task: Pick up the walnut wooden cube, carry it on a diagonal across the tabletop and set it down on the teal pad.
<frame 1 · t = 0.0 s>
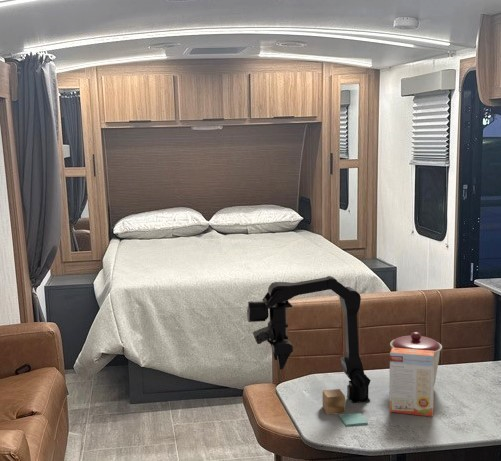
hand: (278, 364, 213), 15 cm above the table, tool pointing down, fingers open, 9 cm apart
cracker box: (411, 411, 209), on the table
walnut cube: (333, 410, 211), on the table
canister: (415, 388, 228), on the table
teal pad: (353, 420, 203), on the table
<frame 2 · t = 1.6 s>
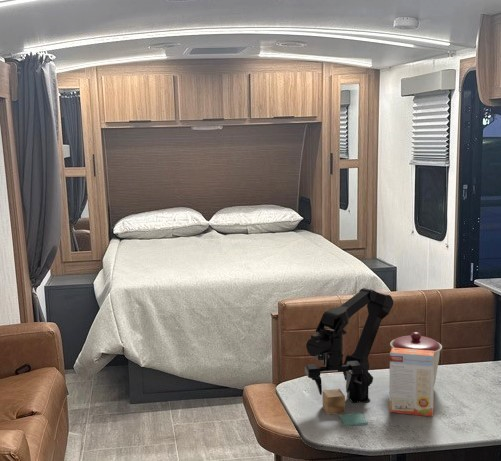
hand: (333, 393, 210), 6 cm above the table, tool pointing down, fingers open, 9 cm apart
nothing on the table moved.
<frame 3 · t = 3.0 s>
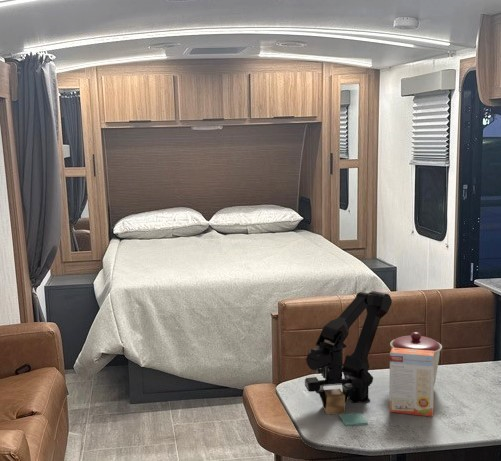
hand: (333, 406, 211), 1 cm above the table, tool pointing down, fingers closed on walnut cube, 6 cm apart
walnut cube: (333, 409, 211), on the table, touching gripper
everything else where it was.
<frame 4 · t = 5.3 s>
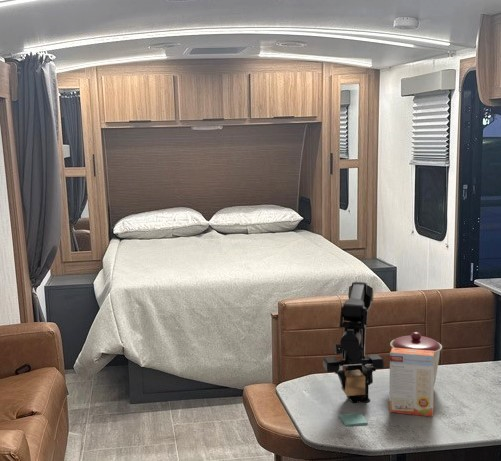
hand: (353, 388, 201), 11 cm above the table, tool pointing down, fingers closed on walnut cube, 6 cm apart
walnut cube: (353, 391, 201), point 10 cm above the table, touching gripper
everything else where it was.
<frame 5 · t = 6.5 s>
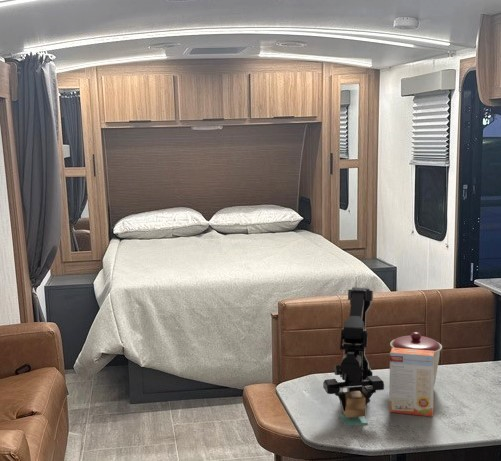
hand: (353, 409, 202), 4 cm above the table, tool pointing down, fingers closed on walnut cube, 6 cm apart
walnut cube: (353, 412, 202), point 3 cm above the table, touching gripper
everything else where it was.
when the fingers open (3 cm above the table, at t = 7.5 s): walnut cube drops 1 cm, resting on teal pad.
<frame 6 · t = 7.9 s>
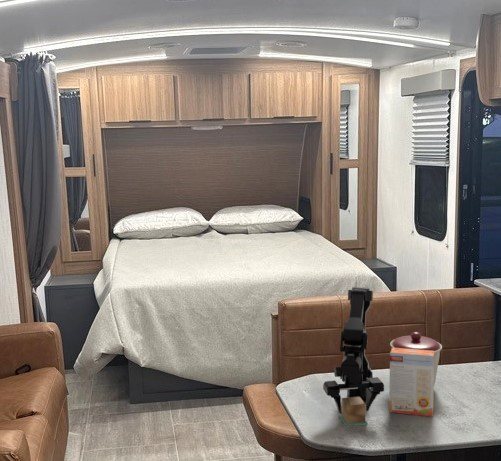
hand: (353, 411, 202), 3 cm above the table, tool pointing down, fingers open, 9 cm apart
walnut cube: (353, 418, 203), point 1 cm above the table, touching teal pad
everything else where it was.
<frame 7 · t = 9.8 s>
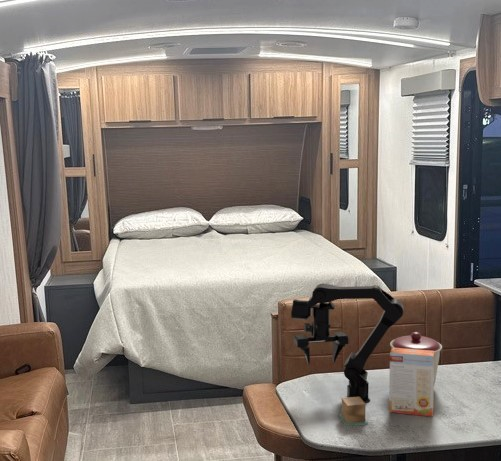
hand: (321, 363, 221), 12 cm above the table, tool pointing down, fingers open, 9 cm apart
nothing on the table moved.
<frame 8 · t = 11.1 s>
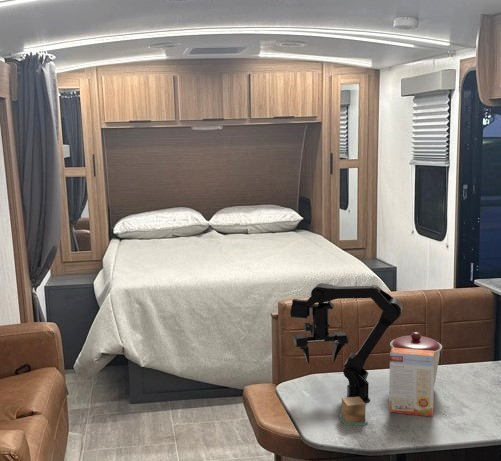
hand: (320, 362, 222), 12 cm above the table, tool pointing down, fingers open, 9 cm apart
nothing on the table moved.
at the end: walnut cube inside the target area on the teal pad (0.0 cm from its centre), point 0.6 cm above the teal pad's base; walnut cube tilted 0°; the gripper is holding nothing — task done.
